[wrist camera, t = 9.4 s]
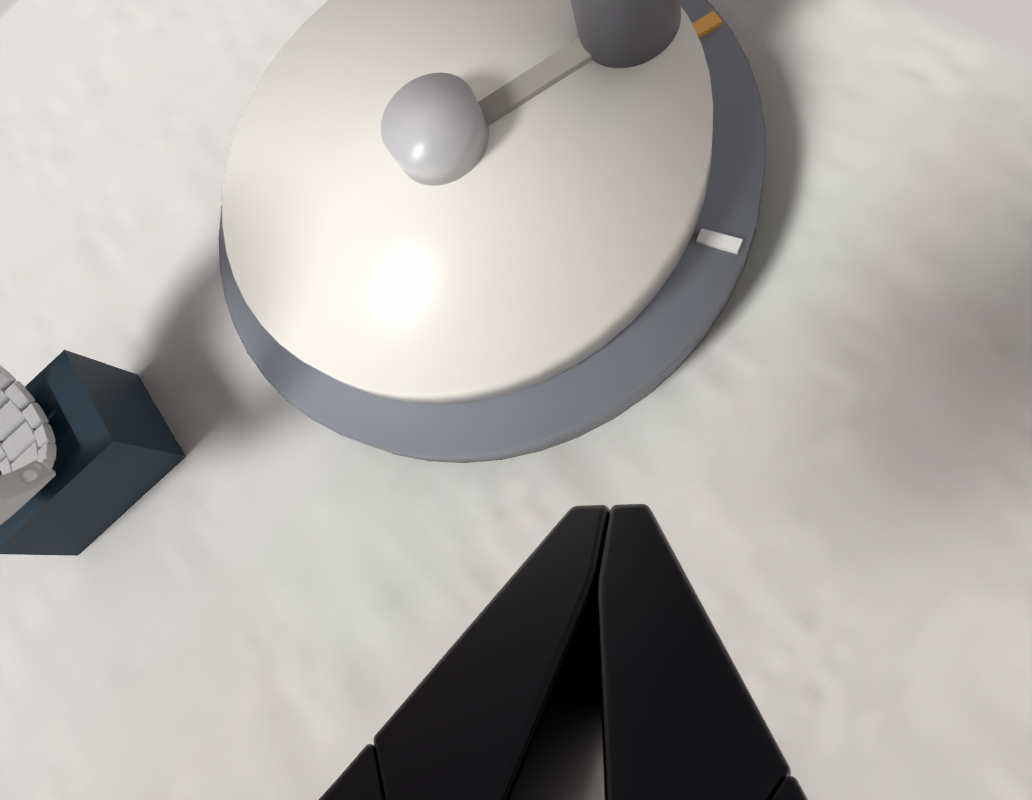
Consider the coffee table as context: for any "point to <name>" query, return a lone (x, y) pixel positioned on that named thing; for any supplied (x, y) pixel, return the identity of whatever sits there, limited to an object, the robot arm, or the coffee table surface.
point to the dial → (467, 187)
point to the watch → (75, 454)
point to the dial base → (606, 373)
